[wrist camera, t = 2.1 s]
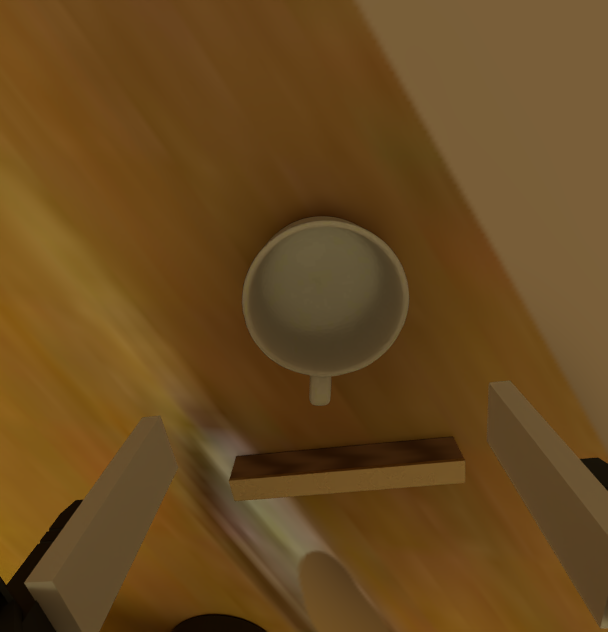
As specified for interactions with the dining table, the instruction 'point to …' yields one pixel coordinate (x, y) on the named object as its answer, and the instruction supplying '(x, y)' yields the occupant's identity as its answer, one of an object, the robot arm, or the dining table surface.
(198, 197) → the dining table surface
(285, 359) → the teacup
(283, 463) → the stop bar
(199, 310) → the dining table surface
